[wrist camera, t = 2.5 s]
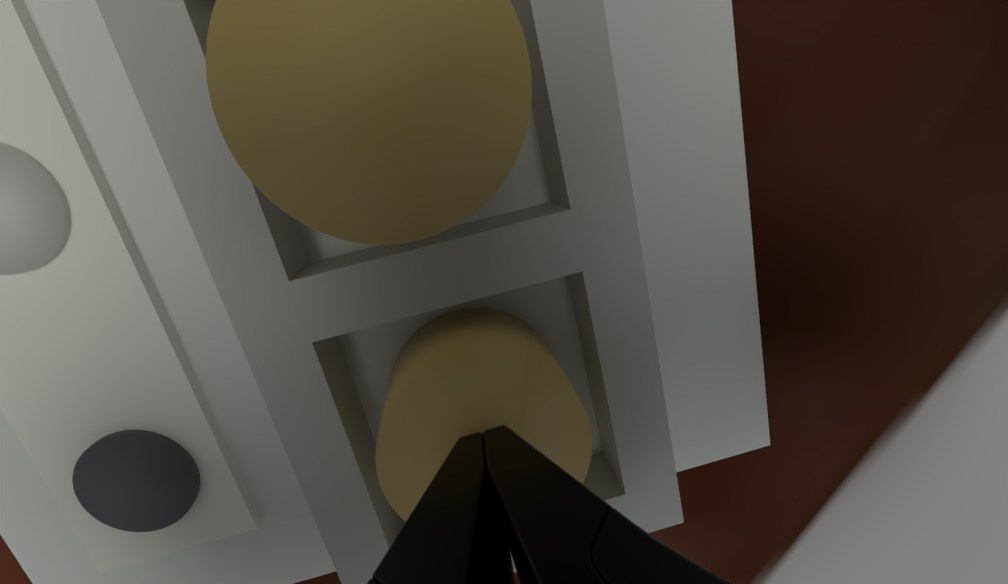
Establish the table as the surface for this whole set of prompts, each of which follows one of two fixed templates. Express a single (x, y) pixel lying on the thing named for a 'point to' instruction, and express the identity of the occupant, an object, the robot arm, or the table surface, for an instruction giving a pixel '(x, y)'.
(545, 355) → the button
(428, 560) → the robot arm
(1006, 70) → the table surface
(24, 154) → the board
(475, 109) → the button mid
